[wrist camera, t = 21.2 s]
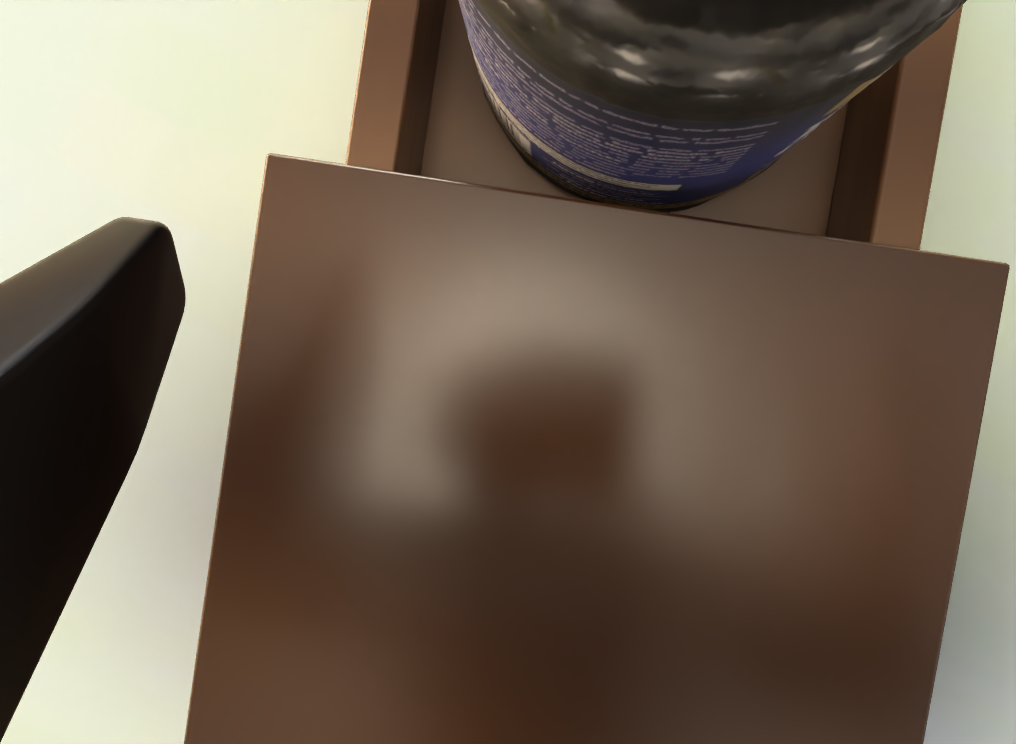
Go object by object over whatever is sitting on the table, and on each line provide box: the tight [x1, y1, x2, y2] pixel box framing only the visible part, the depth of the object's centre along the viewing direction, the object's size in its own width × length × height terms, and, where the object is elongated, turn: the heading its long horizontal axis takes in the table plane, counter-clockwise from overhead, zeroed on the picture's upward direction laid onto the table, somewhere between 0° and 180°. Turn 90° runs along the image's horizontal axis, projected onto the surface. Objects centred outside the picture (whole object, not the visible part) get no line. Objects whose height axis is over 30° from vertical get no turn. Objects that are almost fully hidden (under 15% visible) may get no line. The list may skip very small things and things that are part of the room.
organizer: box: [184, 153, 1009, 744], centre depth 16 cm, size 12×11×5 cm
